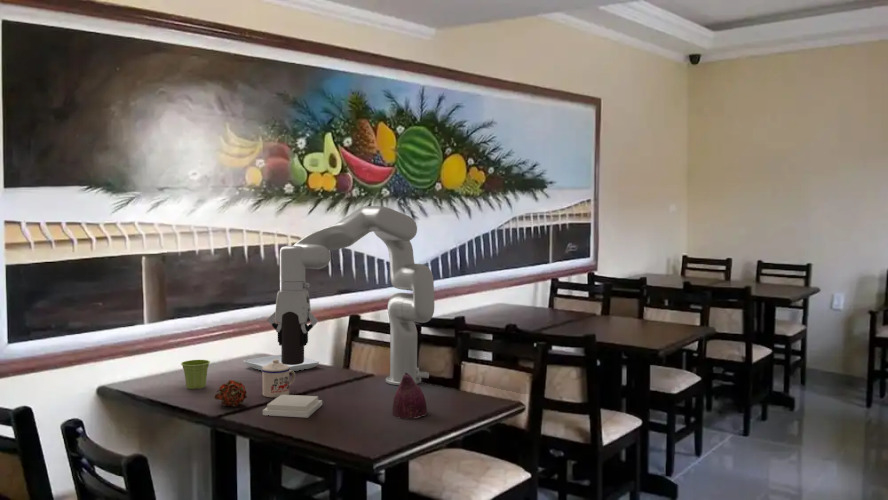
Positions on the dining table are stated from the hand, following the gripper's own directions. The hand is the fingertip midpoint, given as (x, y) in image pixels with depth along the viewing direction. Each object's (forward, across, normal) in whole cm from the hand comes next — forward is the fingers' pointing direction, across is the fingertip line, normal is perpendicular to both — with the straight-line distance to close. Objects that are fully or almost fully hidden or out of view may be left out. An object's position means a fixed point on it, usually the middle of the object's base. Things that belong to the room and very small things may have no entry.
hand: (292, 344), depth 234 cm
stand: (+20, 0, 0) cm, 20 cm away
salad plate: (+21, +24, -54) cm, 63 cm away
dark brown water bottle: (+6, 0, 0) cm, 6 cm away
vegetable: (+21, -36, -2) cm, 41 cm away
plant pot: (+21, +42, -21) cm, 51 cm away
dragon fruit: (+21, +21, -2) cm, 29 cm away
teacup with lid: (+21, +11, -18) cm, 29 cm away
